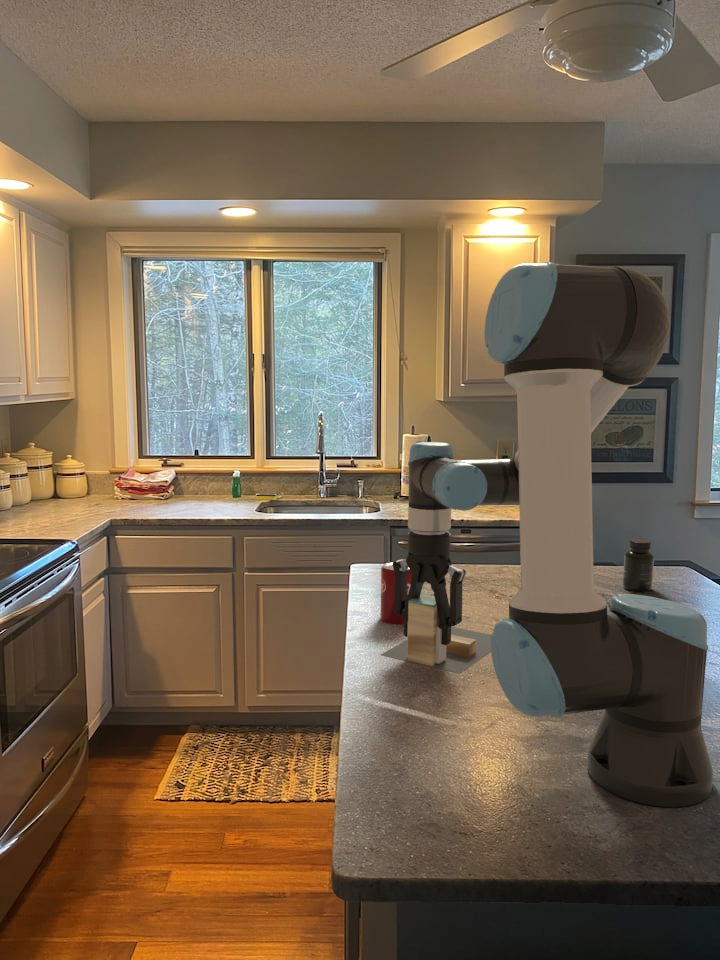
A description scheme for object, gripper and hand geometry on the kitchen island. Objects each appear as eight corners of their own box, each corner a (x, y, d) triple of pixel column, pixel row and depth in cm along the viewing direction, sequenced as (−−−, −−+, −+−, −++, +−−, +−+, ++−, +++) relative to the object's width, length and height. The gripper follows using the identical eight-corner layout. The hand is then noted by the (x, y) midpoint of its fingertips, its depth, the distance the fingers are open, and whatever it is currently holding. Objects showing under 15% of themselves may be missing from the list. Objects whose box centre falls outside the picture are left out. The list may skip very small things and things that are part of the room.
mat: (459, 676, 135) (460, 673, 135) (380, 657, 143) (380, 654, 143) (509, 641, 153) (509, 638, 153) (436, 626, 162) (436, 623, 161)
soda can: (374, 624, 163) (375, 567, 161) (389, 614, 169) (390, 560, 167) (406, 629, 159) (407, 572, 158) (420, 620, 166) (421, 564, 164)
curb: (468, 657, 142) (469, 644, 142) (410, 644, 149) (411, 632, 148) (475, 652, 145) (476, 639, 144) (418, 640, 151) (418, 627, 151)
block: (432, 666, 138) (433, 605, 136) (407, 660, 140) (408, 600, 139) (445, 657, 142) (446, 598, 140) (420, 652, 145) (422, 594, 143)
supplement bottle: (616, 586, 194) (619, 538, 192) (637, 583, 196) (640, 536, 195) (637, 593, 187) (639, 544, 186) (658, 590, 190) (661, 542, 189)
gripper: (485, 532, 136) (481, 661, 139) (395, 521, 146) (393, 642, 149) (467, 540, 130) (463, 675, 133) (374, 527, 140) (372, 653, 143)
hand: (426, 657), depth 141 cm, fingers closed on block, mat, 5 cm apart
